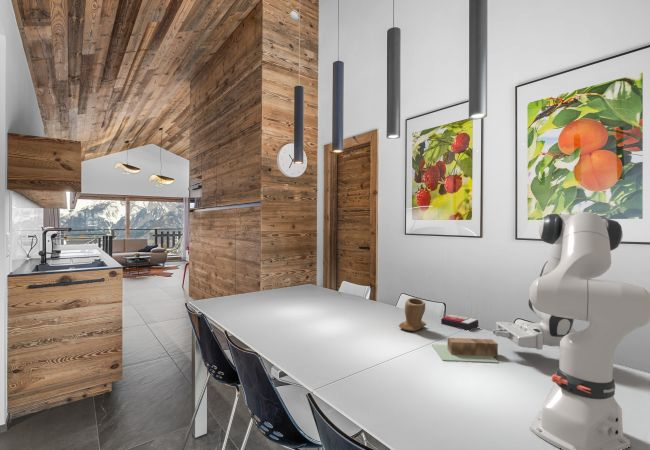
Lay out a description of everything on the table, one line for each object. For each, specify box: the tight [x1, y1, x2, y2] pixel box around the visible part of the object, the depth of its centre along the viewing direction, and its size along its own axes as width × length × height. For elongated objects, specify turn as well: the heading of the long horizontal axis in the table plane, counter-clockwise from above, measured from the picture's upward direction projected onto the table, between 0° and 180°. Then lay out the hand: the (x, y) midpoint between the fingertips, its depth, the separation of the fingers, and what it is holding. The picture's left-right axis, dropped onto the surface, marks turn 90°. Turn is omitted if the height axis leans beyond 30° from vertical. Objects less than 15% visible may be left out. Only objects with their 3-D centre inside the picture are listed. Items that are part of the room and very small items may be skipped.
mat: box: [431, 343, 500, 364], centre depth 134 cm, size 21×16×1 cm
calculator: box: [440, 314, 479, 332], centre depth 172 cm, size 11×4×15 cm
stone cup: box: [398, 297, 427, 332], centre depth 165 cm, size 15×12×15 cm
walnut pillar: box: [447, 337, 499, 357], centre depth 134 cm, size 5×5×18 cm
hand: (494, 332), depth 133 cm, fingers closed
